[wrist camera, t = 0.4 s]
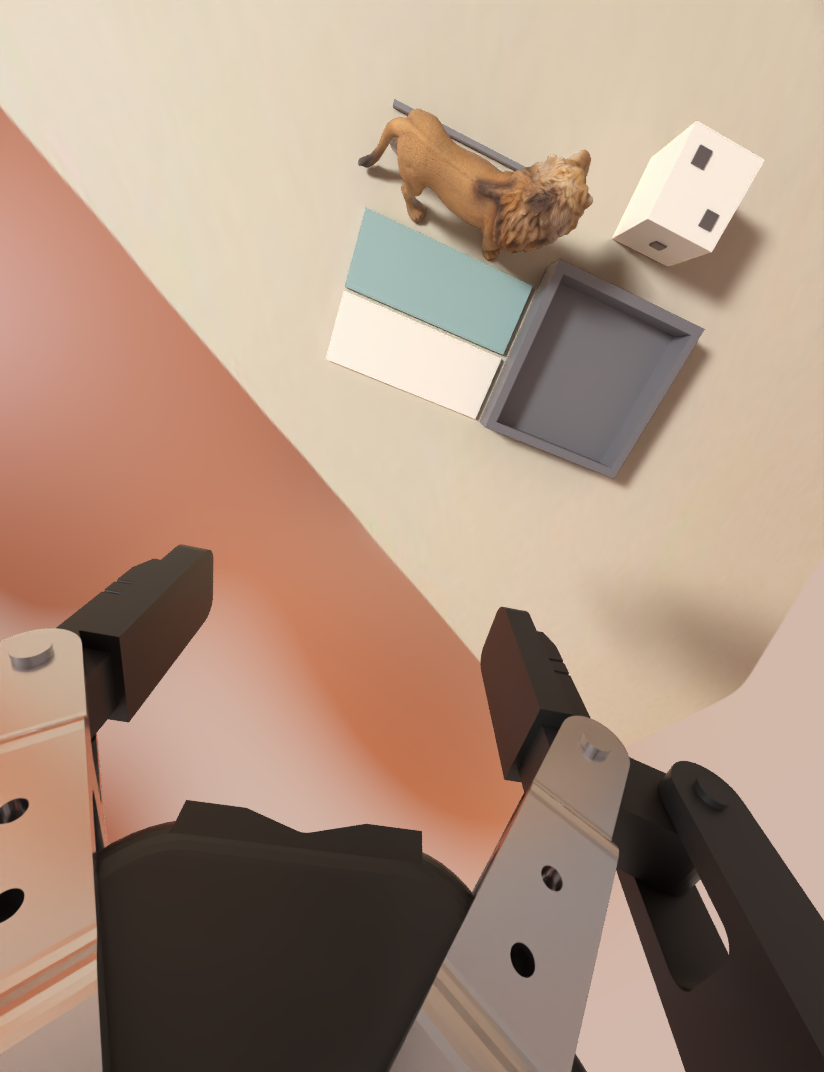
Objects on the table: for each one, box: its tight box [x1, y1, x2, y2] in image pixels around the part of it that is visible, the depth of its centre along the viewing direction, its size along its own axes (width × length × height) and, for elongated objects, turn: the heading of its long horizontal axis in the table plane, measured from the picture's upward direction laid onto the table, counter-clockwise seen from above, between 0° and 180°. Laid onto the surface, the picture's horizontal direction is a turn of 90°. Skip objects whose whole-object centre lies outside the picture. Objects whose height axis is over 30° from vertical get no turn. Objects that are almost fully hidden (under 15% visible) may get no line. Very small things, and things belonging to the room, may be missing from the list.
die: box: [612, 121, 764, 267], centre depth 27 cm, size 5×5×5 cm
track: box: [326, 99, 533, 419], centre depth 31 cm, size 17×14×1 cm
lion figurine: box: [358, 109, 593, 260], centre depth 25 cm, size 15×5×9 cm, turn 73°
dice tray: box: [480, 259, 705, 479], centre depth 33 cm, size 12×12×3 cm
